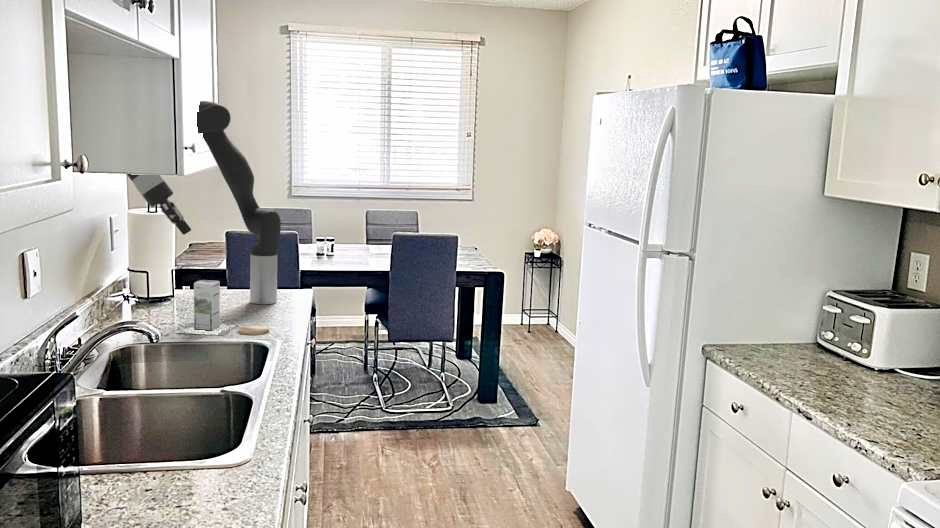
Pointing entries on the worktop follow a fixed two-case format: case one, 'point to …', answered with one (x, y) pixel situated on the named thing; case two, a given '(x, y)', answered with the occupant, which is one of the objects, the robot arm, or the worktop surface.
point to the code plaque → (218, 334)
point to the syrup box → (206, 305)
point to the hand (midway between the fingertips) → (187, 232)
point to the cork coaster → (253, 330)
